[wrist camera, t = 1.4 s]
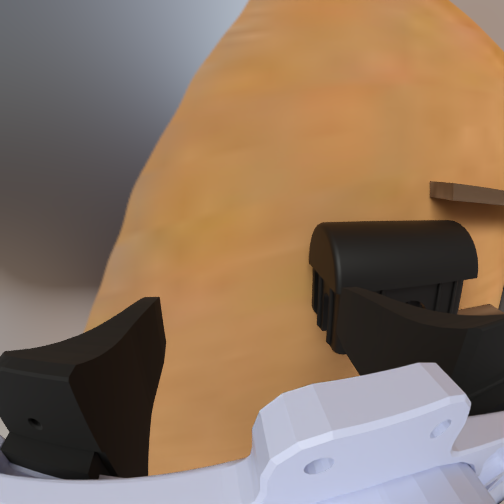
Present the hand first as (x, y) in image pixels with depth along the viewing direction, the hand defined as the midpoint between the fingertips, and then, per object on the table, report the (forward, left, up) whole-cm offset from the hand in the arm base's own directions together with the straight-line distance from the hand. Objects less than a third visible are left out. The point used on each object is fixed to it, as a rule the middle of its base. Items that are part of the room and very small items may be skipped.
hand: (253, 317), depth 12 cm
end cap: (-1, -9, -10) cm, 13 cm away
